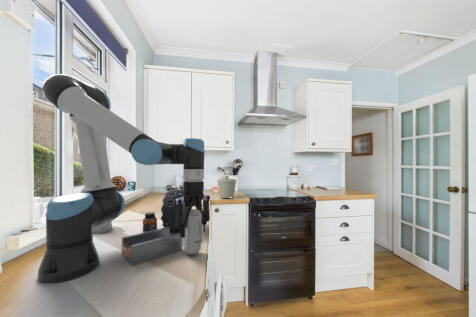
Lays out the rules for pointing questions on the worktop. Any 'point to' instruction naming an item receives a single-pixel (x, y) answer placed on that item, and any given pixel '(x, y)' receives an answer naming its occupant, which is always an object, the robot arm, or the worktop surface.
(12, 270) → the worktop surface
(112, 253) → the worktop surface
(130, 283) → the worktop surface
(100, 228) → the engine component
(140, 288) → the worktop surface
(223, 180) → the canister
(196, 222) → the energy drink can
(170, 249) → the channel
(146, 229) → the supplement bottle
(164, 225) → the black thick disc
